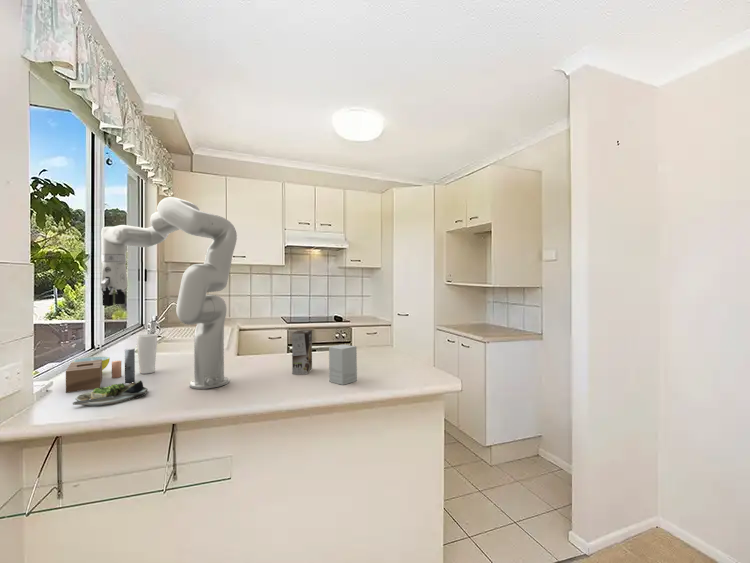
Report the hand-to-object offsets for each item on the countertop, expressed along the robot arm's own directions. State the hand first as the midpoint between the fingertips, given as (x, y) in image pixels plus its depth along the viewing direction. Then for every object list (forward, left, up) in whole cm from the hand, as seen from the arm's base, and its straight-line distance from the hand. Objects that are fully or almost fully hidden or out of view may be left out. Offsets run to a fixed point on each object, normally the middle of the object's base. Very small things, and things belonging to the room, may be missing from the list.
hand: (114, 304), depth 136 cm
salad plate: (-28, -1, -28) cm, 40 cm away
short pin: (+1, -1, -28) cm, 28 cm away
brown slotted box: (-5, +8, -28) cm, 29 cm away
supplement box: (-56, -68, -28) cm, 92 cm away
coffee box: (-34, -62, -28) cm, 76 cm away
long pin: (-11, -5, -28) cm, 30 cm away
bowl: (+11, +7, -28) cm, 31 cm away
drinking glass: (+2, -11, -28) cm, 30 cm away
